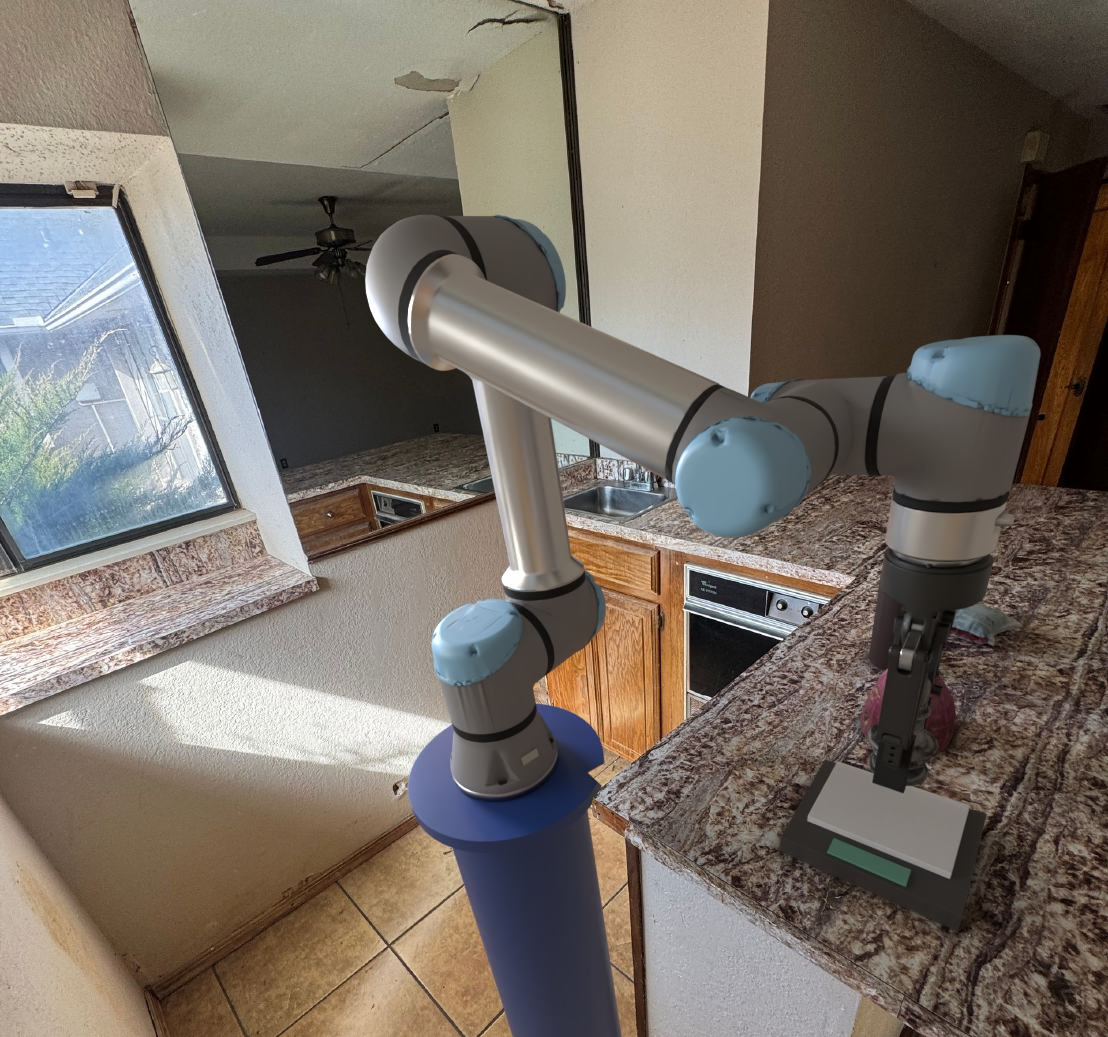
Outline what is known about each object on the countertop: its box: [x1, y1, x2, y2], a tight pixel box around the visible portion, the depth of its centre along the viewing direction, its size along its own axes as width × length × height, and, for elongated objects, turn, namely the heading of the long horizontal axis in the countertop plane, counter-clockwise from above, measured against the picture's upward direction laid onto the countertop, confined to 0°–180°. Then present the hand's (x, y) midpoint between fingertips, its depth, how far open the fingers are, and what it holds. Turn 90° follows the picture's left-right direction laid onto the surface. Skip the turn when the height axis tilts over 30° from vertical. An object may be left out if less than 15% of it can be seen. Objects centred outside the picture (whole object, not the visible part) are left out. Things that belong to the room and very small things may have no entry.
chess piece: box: [867, 678, 938, 787], centre depth 54 cm, size 6×6×12 cm
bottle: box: [868, 570, 903, 671], centre depth 83 cm, size 7×7×20 cm
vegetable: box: [860, 669, 957, 753], centre depth 70 cm, size 10×10×15 cm
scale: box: [779, 759, 988, 932], centre depth 60 cm, size 16×14×3 cm
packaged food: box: [949, 603, 1023, 646], centre depth 91 cm, size 9×12×5 cm
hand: (897, 765), depth 57 cm, fingers closed on chess piece, 6 cm apart
